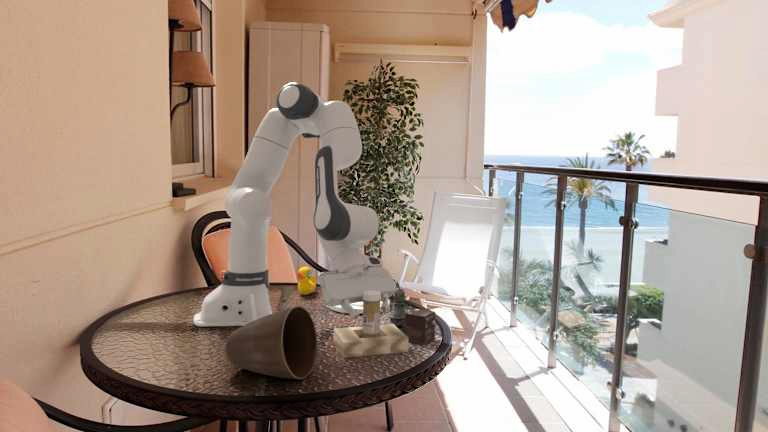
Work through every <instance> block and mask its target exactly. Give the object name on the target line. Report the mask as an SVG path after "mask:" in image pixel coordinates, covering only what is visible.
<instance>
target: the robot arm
mask: <svg viewBox="0 0 768 432" xmlns="http://www.w3.org/2000/svg"><path fill="white" fill-rule="evenodd" d="M275 104H276V107H275V108H272V109H270V110H268V112H267V113H266V114H265V116H264V117H263V119H262V120H261V122H260V124H259V126H258V127H257V130H256V132H255V135H254V136H253V138H252V141H251V144H250V146H249V149H248V151H247V153H246V156H245V158H244V161H243V163H242V165H241V167H240V168H239V170H238V172H237V174H236V176H235V178H234V180H233V182H232V183H231V186H230V188H229V190H228V192H227V195H226V196H225V200H224V209H225V211H226V214H227V215H228V217H230V232H229V239H228V240H229V241H228V244H227V248H228V249H227V250H228V253H227V254H228V270H224V269H223V270H221V271H220V273H219V277H220V279H221V284H220V285H219V286H217V287H216V288H215V289H214V290H212V291H211V292H210V293H208V294H207V295H206V296H205V297H204V299H203V301H202V305H201V310H200V311H198V312H197V313H195V315H194V316H193V324H194V325H195V326H197V327H236V326H237V327H238V326H239V327H242V326H244V325H246V324H248V323H250V322H252V321H255V320H257V319H259V318H261V317H264V316H267V315H269V314H272V313H273V311H272V307H271V302H270V296H269V287H270V272H269V269H268V239H269V238H268V237H269V232H270V223H271V214H272V212H273V203H272V200H271V198H270V195H269V194H270V192H271V190H272V188H273V187H274V185H275V184H276V182H277V180H278V179H279V178H280V177H281V174H282V172H283V169H284V167H285V164H286V161H287V159H288V156H289V154H290V151H291V148H292V146H293V143H294V141H295V139H296V138H297V137H298V136H300V135H301V136H302V137H303V138H305V139H312V138H315V139H320V144H321V148H320V149H319V150H318V151H317V152H316V156H315V159H314V182H315V183H314V184H315V185H314V187H315V188H314V190H315V207H314V208H315V209H314V213H313V214H314V215H313V226H314V229H315V231H316V233H317V237H318V242H319V244H320V246H321V248H322V251H323V254H324V255H325V257H327V258H328V260H329V265H330V268H331V271H321V273H320V274H318V276H317V282H318V283H319V286H320V288H321V292H322V296H323V299H324V302H325V305H327V306H330V307H333V306H339V305H341V306H342V308H343V309H344V310H345V311H346V312H348V313H347V314H349V316H350V318H351V319H352V320H353V319H358V318H359V316H360V314H359V312H358V310H357V309H354V308H353V307H352V306H351V305H350V304H351V303H357V302H363V299H362V298H363V292H364V291H369V290H375V291H379V292H381V300H380V301H381V302H382V301H383V305H382V306H381V310H382V312H381V313H384V314H387V313H389V312H390V310H391V306H389V304H388V299H389V298H392V296H393V295H394V292H395V291H396V290H397V284H396V282H395V280H394V278H393V276H392V275H391V272H389V270H388V269H387V268H386V267H384V266H383V265H384V262H383V260H382V259H381V258H380V257H373V256H371V255H367V254H362V252H361V249H362V248H364V247H366V246H367V245H368V244H370V243H371V242H372V241H374V239H376V237H377V235H378V234H379V230H380V228H381V227H380V226H381V223H380V222H381V221H380V217H379V215H378V213H377V211H376V210H375V209H374V208H371V207H368V206H364V205H359V204H352V203H347V202H344V201H343V200H342V199H341V198H340V196H339V189H338V188H339V185H338V171H342V170H344V169H347V168H349V167H351V166H353V165H354V164H356V163H357V162H358V161H359V159H360V158H361V155H362V153H363V143H362V138H361V133H360V129H359V126H358V123H357V120H356V118H355V115H354V113H353V110H352V108H351V107H350V105H349V104H348V103H346V102H345V101H342V100H331V101H328V102H327V101H326V100H325V99H324V98H323V97H321V95H319V94H318V93H316V92H314V91H313V90H312V89H311V88H310V87H308V86H307V85H305V84H303V83H300V82H296V81H295V82H294V81H292V82H289V83H287V84H285V85H283V87H282V88H281V89H280V90H279V91H278V94H277V96H276V103H275ZM389 300H390V299H389Z"/></svg>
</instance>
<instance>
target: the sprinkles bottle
mask: <svg viewBox="0 0 768 432" xmlns="http://www.w3.org/2000/svg"><path fill="white" fill-rule="evenodd" d="M362 299H363V313H362V326H363V338H370V337H380V325H381V312H380V300H381V292H379V291H375V290H369V291H364V292H363V298H362Z"/></svg>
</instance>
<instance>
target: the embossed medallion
mask: <svg viewBox="0 0 768 432" xmlns="http://www.w3.org/2000/svg"><path fill="white" fill-rule="evenodd" d="M388 304H389V306H390V299H388ZM350 305H351V306H352V307H353V308H354V309H357V310H358V312H359V315H360V314H361V315H362V314H363V302H357V303H351V304H350ZM382 305H383V301H382V302H381V301H380V313H383V312H382V310H381V306H382ZM327 306H328V305H327ZM390 307H391V306H390ZM328 308H329V309H330V310H331V311H335V312H339V313H340V314H349V313H348V312H346V311H345V310H344V309H343V308H342V306H341V305H339V306H333V307H330V306H328Z"/></svg>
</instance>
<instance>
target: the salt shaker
mask: <svg viewBox="0 0 768 432" xmlns="http://www.w3.org/2000/svg"><path fill="white" fill-rule="evenodd" d="M405 294H406V293H405V290H403V289H402V288H401V286H400V285H399V286H398V289H397V288H396V291H395V292H394V294H393V295H394V297H393V299H394V300H393V302H392V304H393V311H392V313H390V314H388V318H389V322H390V324H394V325H395V326H396V327H397V328H398V329H399V330H401V331H402V332H405V313H406V310H405V306H406V301H405V300H406V299H405Z"/></svg>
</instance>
